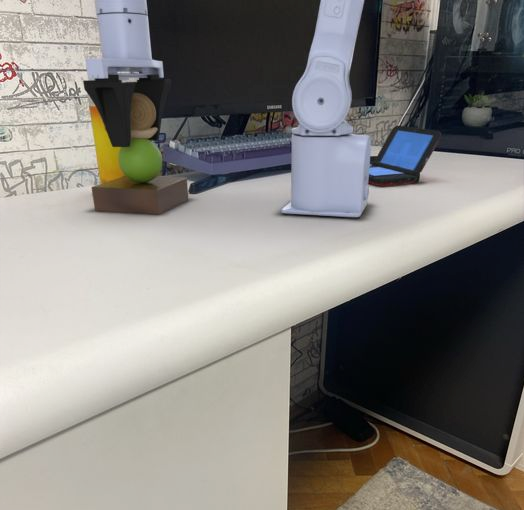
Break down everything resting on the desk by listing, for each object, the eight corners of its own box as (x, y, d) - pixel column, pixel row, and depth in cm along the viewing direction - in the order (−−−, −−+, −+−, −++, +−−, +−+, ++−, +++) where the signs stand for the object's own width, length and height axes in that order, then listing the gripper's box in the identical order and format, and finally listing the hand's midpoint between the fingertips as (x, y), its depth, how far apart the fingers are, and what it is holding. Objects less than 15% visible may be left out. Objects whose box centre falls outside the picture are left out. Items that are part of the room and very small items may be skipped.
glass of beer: (134, 197, 75) (120, 77, 68) (94, 196, 76) (76, 78, 69) (150, 189, 80) (139, 77, 73) (113, 188, 81) (98, 78, 75)
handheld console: (337, 175, 90) (339, 127, 87) (391, 170, 94) (395, 124, 90) (378, 187, 80) (383, 134, 76) (437, 182, 83) (444, 130, 80)
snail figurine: (118, 179, 71) (105, 78, 66) (167, 178, 71) (158, 77, 66) (109, 186, 66) (94, 78, 61) (160, 186, 66) (150, 77, 61)
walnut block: (188, 200, 73) (187, 177, 72) (159, 215, 65) (156, 190, 64) (130, 197, 75) (127, 175, 74) (94, 211, 68) (91, 186, 66)
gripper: (123, 22, 68) (136, 136, 74) (52, 11, 56) (75, 149, 62) (174, 20, 66) (182, 137, 72) (112, 7, 54) (129, 150, 60)
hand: (136, 143), depth 67 cm, fingers open, 7 cm apart
